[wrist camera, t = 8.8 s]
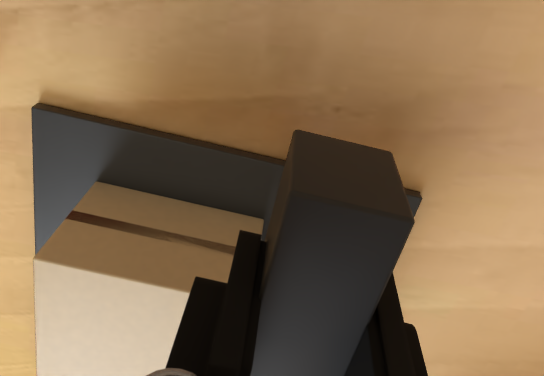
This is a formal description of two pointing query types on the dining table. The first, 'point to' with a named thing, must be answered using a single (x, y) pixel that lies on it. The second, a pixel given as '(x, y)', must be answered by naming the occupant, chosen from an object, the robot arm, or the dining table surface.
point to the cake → (132, 236)
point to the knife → (327, 254)
